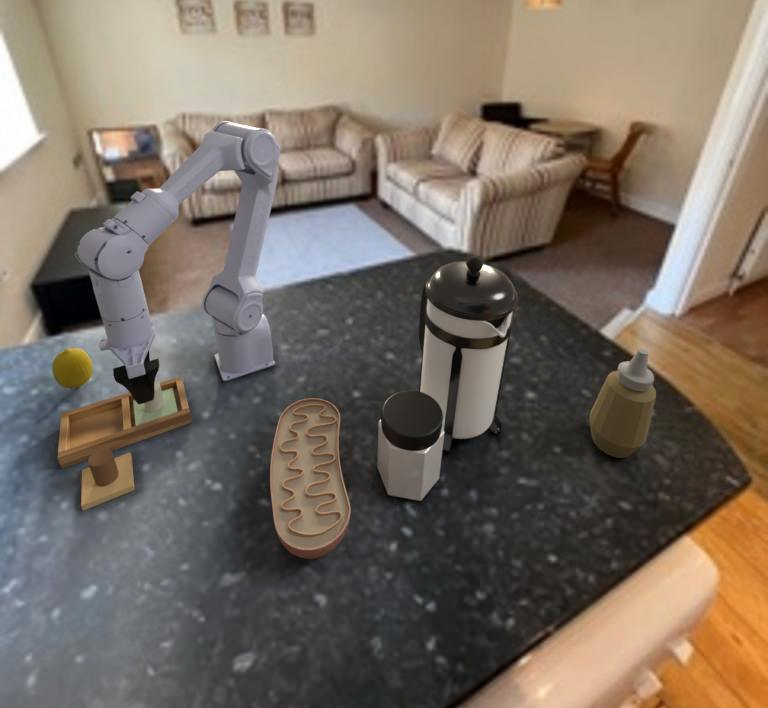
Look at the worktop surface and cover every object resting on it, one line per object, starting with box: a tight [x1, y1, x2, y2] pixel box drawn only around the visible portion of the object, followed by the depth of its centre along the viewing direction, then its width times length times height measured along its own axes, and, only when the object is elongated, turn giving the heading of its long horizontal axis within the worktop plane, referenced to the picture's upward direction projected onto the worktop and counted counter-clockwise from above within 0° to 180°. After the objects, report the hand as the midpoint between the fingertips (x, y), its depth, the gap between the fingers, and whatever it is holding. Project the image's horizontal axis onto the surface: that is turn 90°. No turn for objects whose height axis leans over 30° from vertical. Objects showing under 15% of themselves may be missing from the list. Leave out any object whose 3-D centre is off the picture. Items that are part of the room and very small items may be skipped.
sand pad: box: [80, 448, 136, 511], centre depth 61 cm, size 6×6×5 cm
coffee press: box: [418, 255, 519, 455], centre depth 68 cm, size 17×16×30 cm
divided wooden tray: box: [56, 376, 193, 470], centre depth 70 cm, size 9×17×2 cm, turn 120°
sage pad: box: [133, 380, 178, 426], centre depth 71 cm, size 6×6×5 cm
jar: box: [376, 389, 444, 502], centre depth 62 cm, size 9×8×12 cm
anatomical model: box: [269, 397, 352, 560], centre depth 61 cm, size 23×10×5 cm, turn 10°
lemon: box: [51, 347, 94, 389], centre depth 76 cm, size 6×6×8 cm
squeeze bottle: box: [588, 348, 657, 459], centre depth 66 cm, size 8×8×18 cm
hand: (143, 384), depth 69 cm, fingers open, 7 cm apart
